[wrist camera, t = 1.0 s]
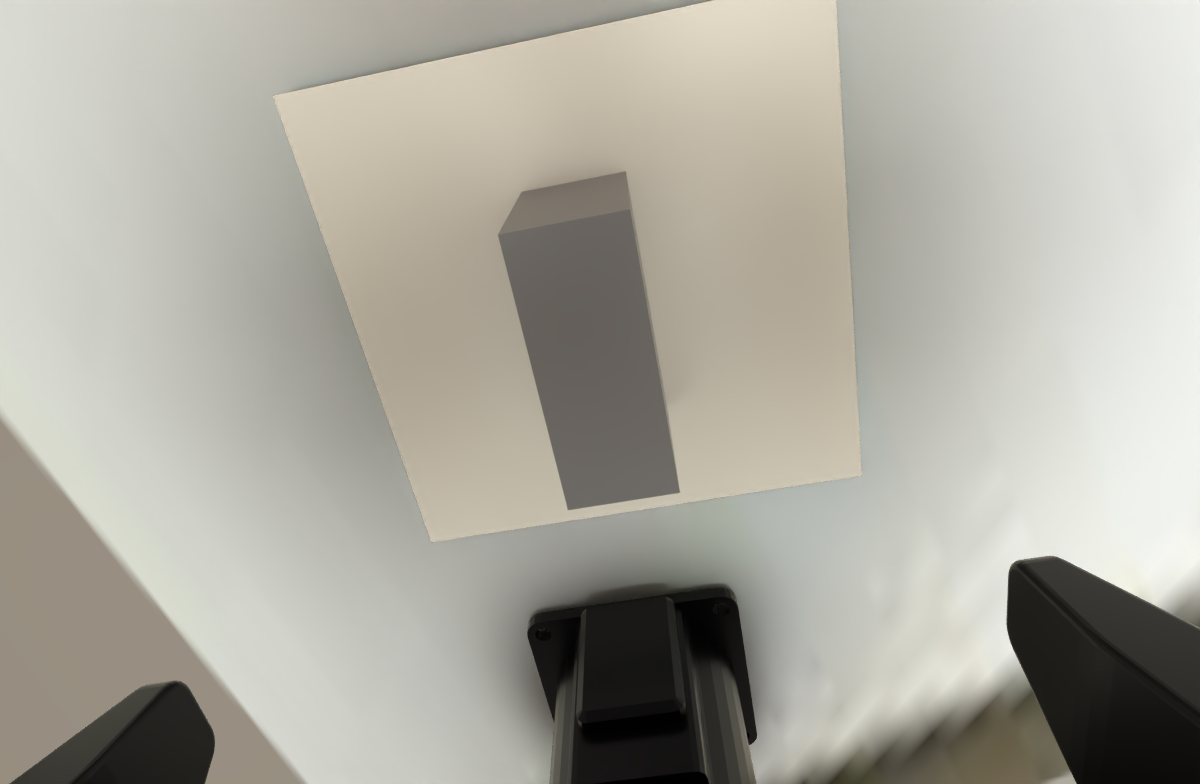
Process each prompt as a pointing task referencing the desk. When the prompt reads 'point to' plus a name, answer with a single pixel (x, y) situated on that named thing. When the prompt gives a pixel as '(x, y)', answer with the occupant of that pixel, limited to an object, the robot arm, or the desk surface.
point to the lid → (599, 262)
